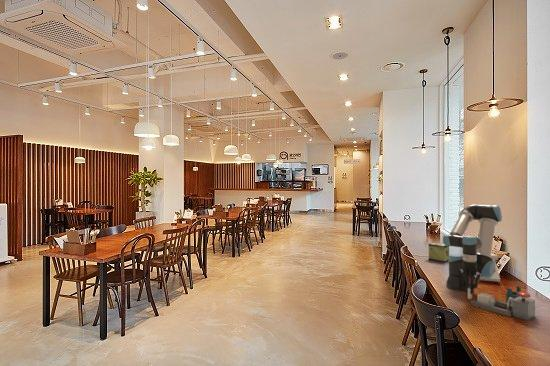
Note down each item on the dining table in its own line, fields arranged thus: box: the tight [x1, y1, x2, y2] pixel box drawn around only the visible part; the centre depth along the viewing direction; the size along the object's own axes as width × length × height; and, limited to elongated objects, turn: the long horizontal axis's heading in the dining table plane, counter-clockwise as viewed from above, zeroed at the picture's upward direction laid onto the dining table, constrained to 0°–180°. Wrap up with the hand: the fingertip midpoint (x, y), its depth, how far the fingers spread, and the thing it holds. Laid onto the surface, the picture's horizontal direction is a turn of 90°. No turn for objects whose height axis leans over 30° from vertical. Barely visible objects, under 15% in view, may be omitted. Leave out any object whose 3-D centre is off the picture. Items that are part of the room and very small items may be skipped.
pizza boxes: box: [474, 252, 501, 283], centre depth 238 cm, size 19×30×18 cm, turn 157°
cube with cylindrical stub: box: [476, 292, 497, 307], centre depth 184 cm, size 6×8×6 cm
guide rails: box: [470, 299, 513, 317], centre depth 181 cm, size 14×20×2 cm
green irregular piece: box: [505, 285, 522, 302], centre depth 190 cm, size 9×9×9 cm
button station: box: [506, 291, 536, 322], centre depth 170 cm, size 10×10×12 cm
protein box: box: [428, 242, 450, 263], centre depth 294 cm, size 10×16×16 cm
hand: (470, 298), depth 192 cm, fingers closed
